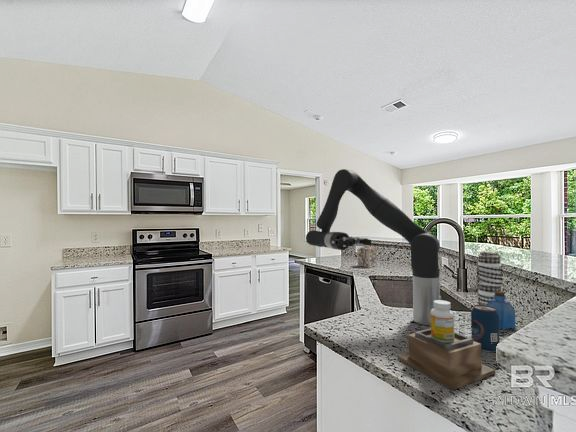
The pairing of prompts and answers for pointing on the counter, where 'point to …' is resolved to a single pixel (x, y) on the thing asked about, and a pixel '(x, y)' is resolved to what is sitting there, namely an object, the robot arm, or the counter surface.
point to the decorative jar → (367, 256)
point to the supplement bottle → (442, 322)
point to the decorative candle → (488, 276)
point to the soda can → (485, 327)
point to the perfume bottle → (503, 310)
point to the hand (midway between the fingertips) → (361, 243)
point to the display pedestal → (446, 359)
